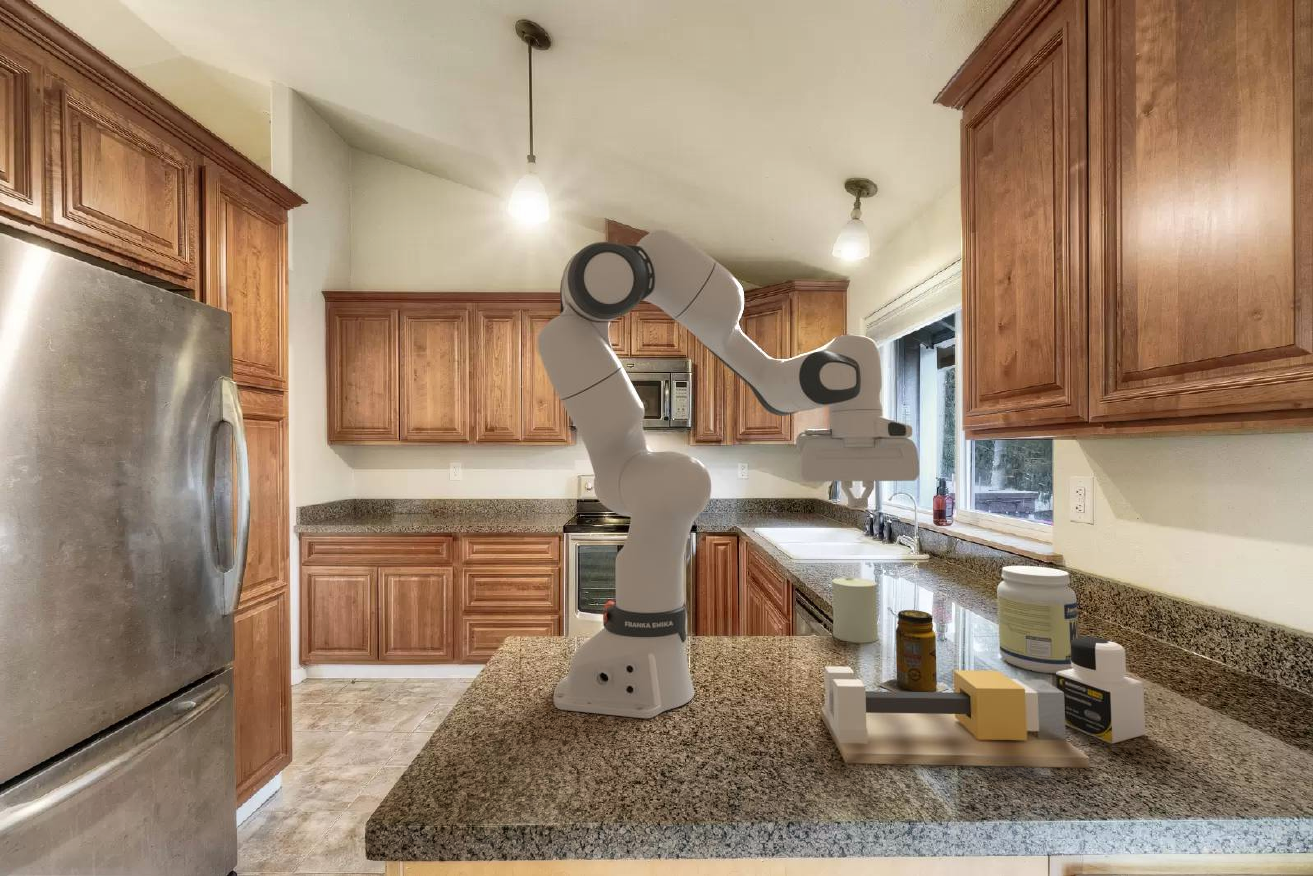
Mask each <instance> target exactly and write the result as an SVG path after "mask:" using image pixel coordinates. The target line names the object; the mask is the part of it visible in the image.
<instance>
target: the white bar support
mask: <svg viewBox="0 0 1313 876" xmlns="http://www.w3.org/2000/svg"><path fill="white" fill-rule="evenodd" d="M855 677H856V676H855V671H854V670H853V669H852V668H851V666H829V665H828V666H826V665H825V666H824V695H825V696H824V697H825V698H824V701H825V702H824V708H825V717H826V718H827V720H828V722H829V724H830V726H831V728H832V729H833V731H834V733H835V735H836V737H837V739H838V741H839V742H840V743H860V744H868V733H867V728H866V686H865V684H864V683H863V682H862V680H861V679H858V678H855ZM833 697H834V706H833Z"/></svg>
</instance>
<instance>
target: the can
mask: <svg viewBox="0 0 1313 876" xmlns="http://www.w3.org/2000/svg"><path fill="white" fill-rule="evenodd" d="M831 585H832V588H831V589H832V610H833V611H832V614H833V616H832V617H833V618H832V619H833V622H832V625H833V627H832V630H833V631H832V636H833V637H834V638H835V639H837V640H840V641H843V642H848V643H856V644H869V643H874V642H877V641H878V640H879V638H880V637H879V631H878V629H879V628H878V603H877V601H878V598H877V595H878V593H877V592H878V591H877V589H878V588H877V587H878V586H877V585H878V583H877V582H876V581H875V580H872V579H867V578H861V577H838V578H834V579H832V580H831Z"/></svg>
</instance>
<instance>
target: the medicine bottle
mask: <svg viewBox="0 0 1313 876" xmlns="http://www.w3.org/2000/svg"><path fill="white" fill-rule="evenodd" d="M1070 644H1071V666H1072V667H1073V669H1068V670H1063V671H1058V672H1057V673H1055V674H1056V675H1055V676H1056V678H1055V679H1056V688H1057V689H1059V690H1061V691H1062V692H1064V703H1065V726H1067V727H1070V728H1072V729H1073V730H1077V731H1079V732H1080V733H1081V732H1082V733H1083V734H1086V735H1088V736H1091V737H1094V738H1096V739H1099V740H1101V741H1103V742H1105V743H1108V744H1110V745H1112V744H1117V743H1120V742H1124V741H1128V740H1131V739H1135V738H1138V737H1141V736H1142V737H1143V736H1144V735H1146V717H1145V713H1146V712H1145V697H1144V696H1145V695H1144V694H1145V693H1144V683H1143V682H1142V681H1141V680H1137V679H1134V678H1132V677H1127V664H1126V663H1127V662H1126V661H1127V659H1126V649H1125V648H1124V647H1123V645H1120V644H1119V643H1117V642H1115V641H1113V640H1110V639H1105V638H1102V637H1093V636H1081V637H1080V636H1078V638H1075V639H1073V640H1072V641H1071V642H1070Z"/></svg>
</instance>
